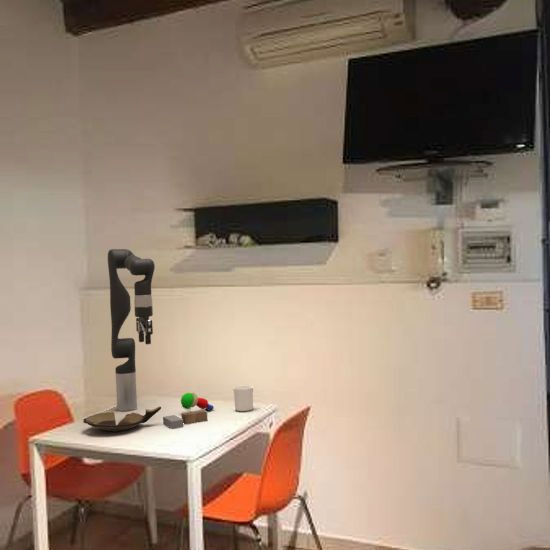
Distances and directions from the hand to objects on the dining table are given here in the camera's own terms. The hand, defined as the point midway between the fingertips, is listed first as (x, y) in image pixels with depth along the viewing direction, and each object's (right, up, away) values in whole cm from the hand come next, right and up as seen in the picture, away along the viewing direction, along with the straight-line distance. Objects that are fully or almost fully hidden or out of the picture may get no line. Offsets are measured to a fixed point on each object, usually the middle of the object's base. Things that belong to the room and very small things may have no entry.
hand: (144, 343), depth 256 cm
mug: (+42, -32, +15) cm, 55 cm away
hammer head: (+14, -33, -9) cm, 37 cm away
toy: (+21, -33, +13) cm, 41 cm away
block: (+18, -31, -7) cm, 36 cm away
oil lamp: (-7, -34, -12) cm, 37 cm away
